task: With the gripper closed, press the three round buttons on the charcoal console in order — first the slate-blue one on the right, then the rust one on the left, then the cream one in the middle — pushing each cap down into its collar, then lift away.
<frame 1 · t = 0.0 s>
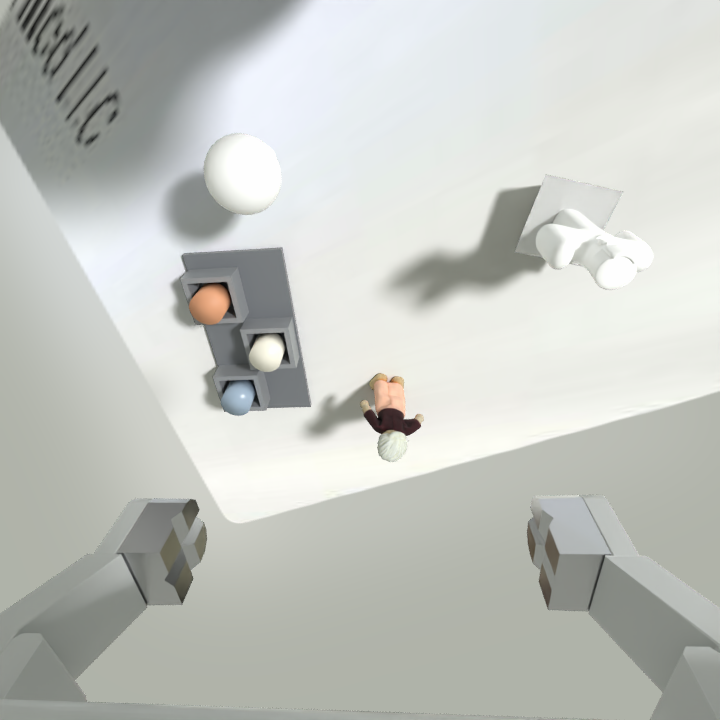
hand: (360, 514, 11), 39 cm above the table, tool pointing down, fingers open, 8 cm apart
lightbulb: (266, 156, 43), on the table
cream button: (267, 351, 51), point 4 cm above the table, slide at 0.0 cm
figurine: (553, 211, 44), on the table
rust button: (211, 303, 48), point 4 cm above the table, slide at 0.0 cm
console: (254, 336, 54), on the table
slate button: (238, 396, 55), point 4 cm above the table, slide at 0.0 cm
grandmother figurine: (391, 383, 57), on the table
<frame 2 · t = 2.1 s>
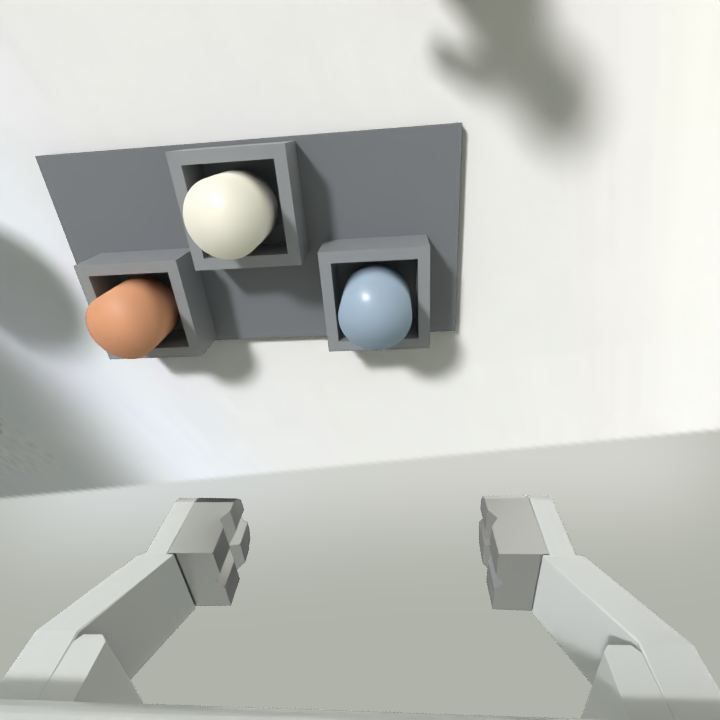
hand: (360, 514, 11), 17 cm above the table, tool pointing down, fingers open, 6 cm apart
cream button: (233, 213, 21), point 4 cm above the table, slide at 0.0 cm
rust button: (136, 316, 24), point 3 cm above the table, slide at 0.0 cm
console: (261, 247, 25), on the table
slate button: (375, 305, 23), point 3 cm above the table, slide at 0.0 cm
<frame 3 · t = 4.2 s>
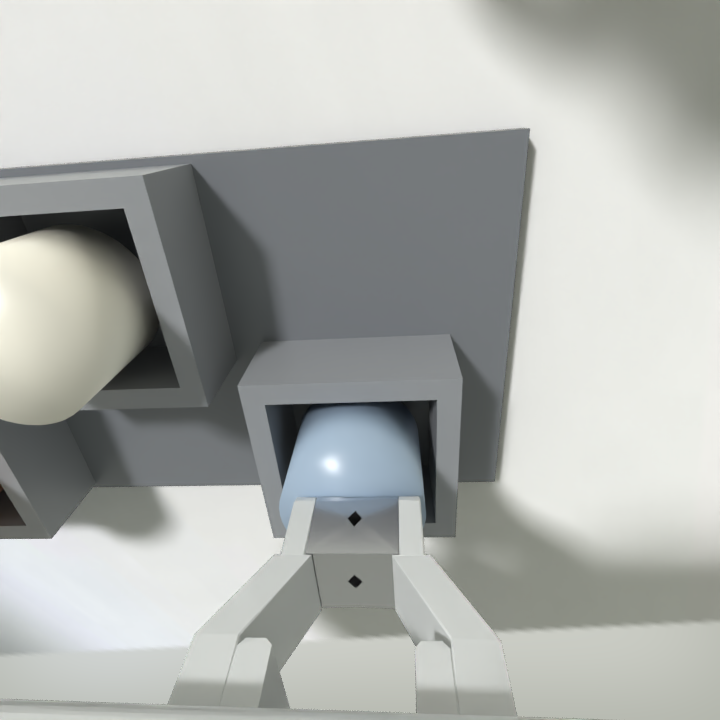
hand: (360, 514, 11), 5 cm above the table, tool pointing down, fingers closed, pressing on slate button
cream button: (50, 320, 10), point 3 cm above the table, slide at 0.0 cm
console: (154, 347, 14), on the table
slate button: (355, 471, 12), point 3 cm above the table, slide at 0.4 cm, touching gripper
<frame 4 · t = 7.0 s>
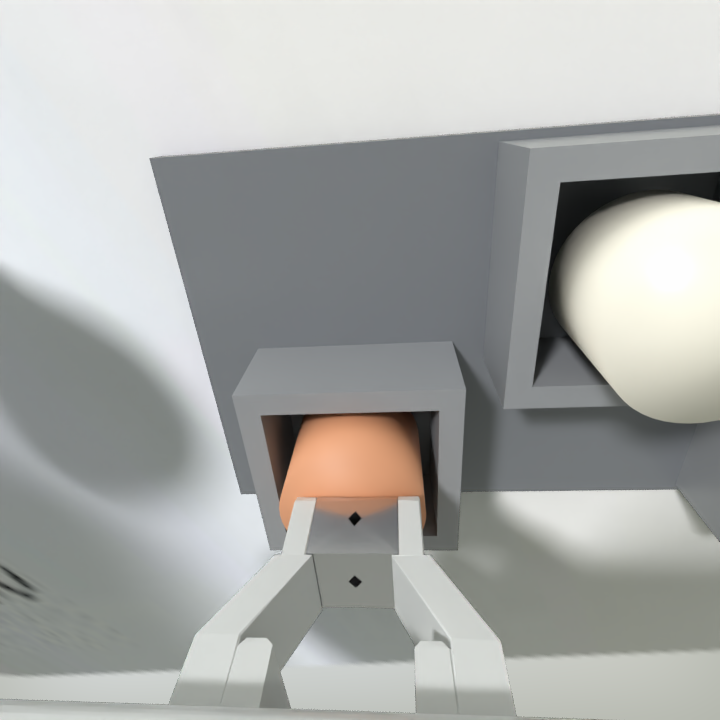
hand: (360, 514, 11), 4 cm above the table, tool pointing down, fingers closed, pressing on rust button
cream button: (670, 300, 8), point 3 cm above the table, slide at 0.0 cm
rust button: (356, 471, 12), point 3 cm above the table, slide at 0.8 cm, touching gripper
console: (579, 337, 13), on the table
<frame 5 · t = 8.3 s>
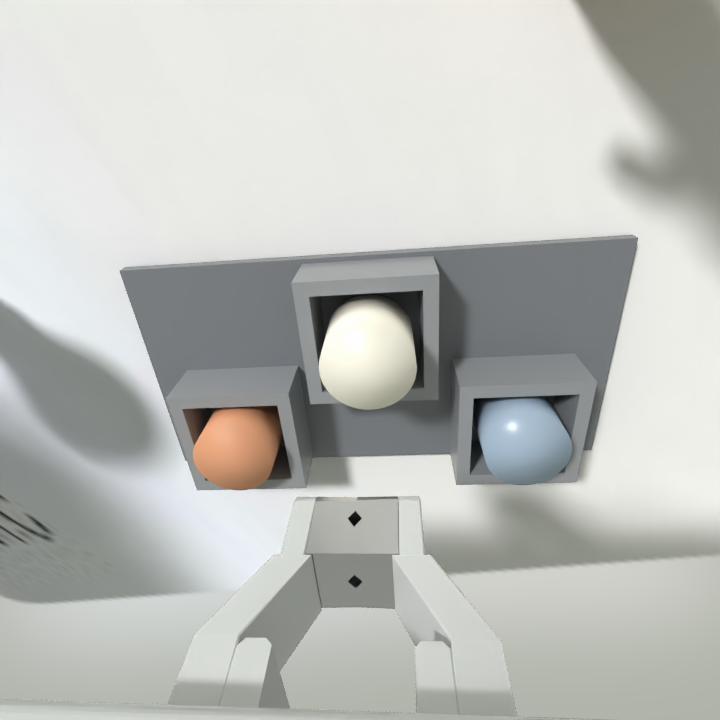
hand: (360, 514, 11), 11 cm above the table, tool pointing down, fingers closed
cream button: (368, 350, 18), point 3 cm above the table, slide at 0.0 cm
rust button: (241, 439, 21), point 3 cm above the table, slide at 0.9 cm
console: (374, 362, 22), on the table
slate button: (518, 431, 20), point 3 cm above the table, slide at 0.9 cm
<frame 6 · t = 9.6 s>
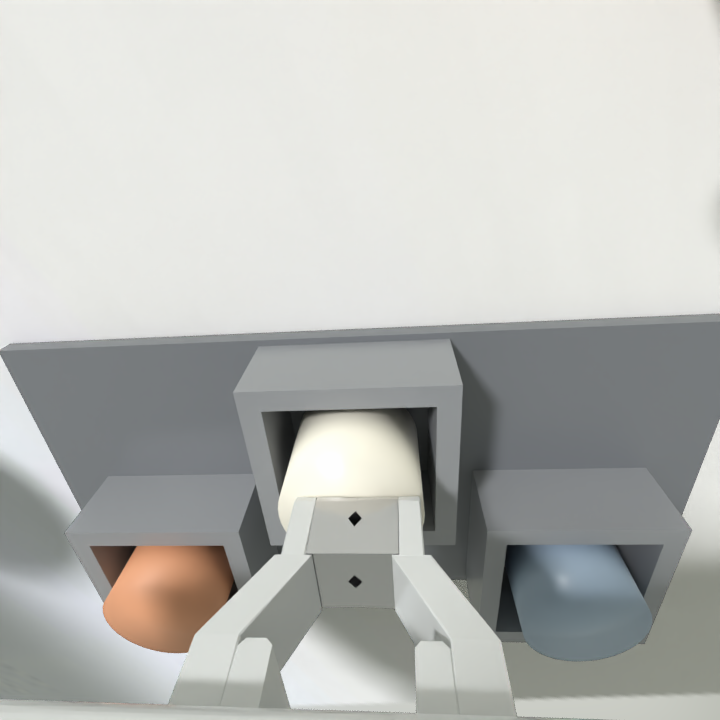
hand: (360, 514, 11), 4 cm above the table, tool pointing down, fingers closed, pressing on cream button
cream button: (354, 472, 12), point 3 cm above the table, slide at 0.6 cm, touching gripper
rust button: (179, 578, 15), point 3 cm above the table, slide at 0.9 cm
console: (365, 468, 16), on the table
slate button: (567, 580, 14), point 3 cm above the table, slide at 0.9 cm
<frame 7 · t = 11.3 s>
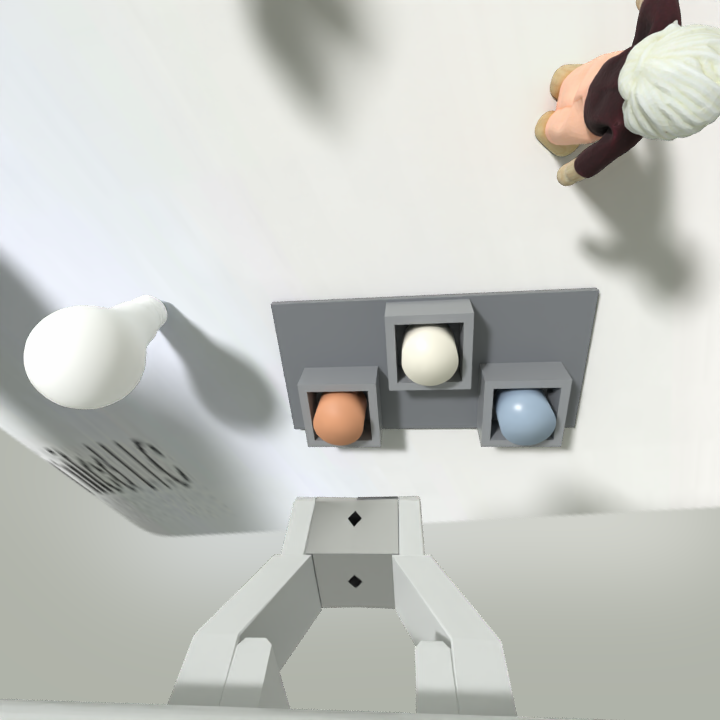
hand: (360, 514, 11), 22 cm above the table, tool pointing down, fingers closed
lightbulb: (157, 306, 33), on the table
cream button: (428, 351, 30), point 3 cm above the table, slide at 0.9 cm
rust button: (340, 413, 33), point 3 cm above the table, slide at 0.9 cm
console: (427, 364, 33), on the table
slate button: (522, 411, 31), point 3 cm above the table, slide at 0.9 cm
grandmother figurine: (571, 99, 24), on the table
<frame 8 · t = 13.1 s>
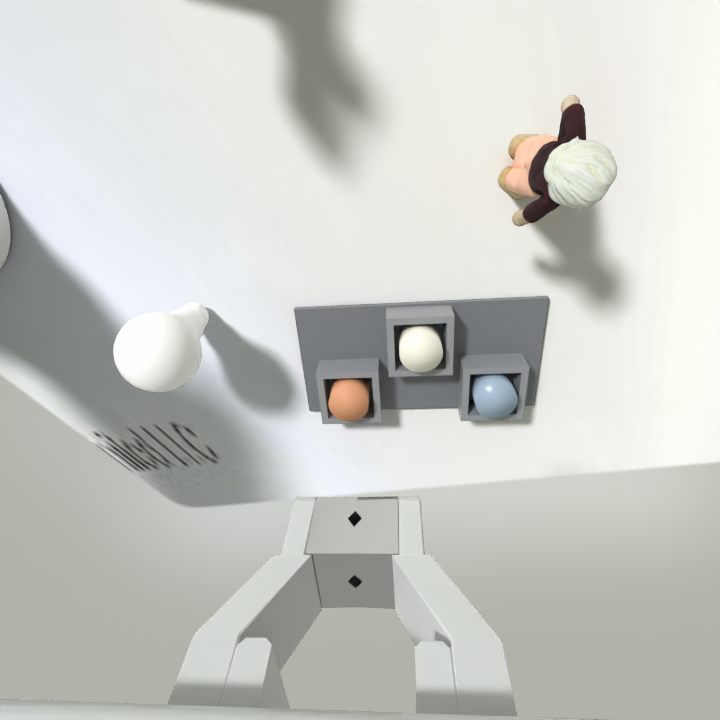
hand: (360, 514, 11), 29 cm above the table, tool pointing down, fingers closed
lightbulb: (199, 311, 41), on the table
cream button: (420, 345, 38), point 3 cm above the table, slide at 0.9 cm
rust button: (349, 396, 41), point 3 cm above the table, slide at 0.9 cm
console: (418, 356, 41), on the table
slate button: (493, 392, 40), point 3 cm above the table, slide at 0.9 cm
grandmother figurine: (524, 158, 33), on the table
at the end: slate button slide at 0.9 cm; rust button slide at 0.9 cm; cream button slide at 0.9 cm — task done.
